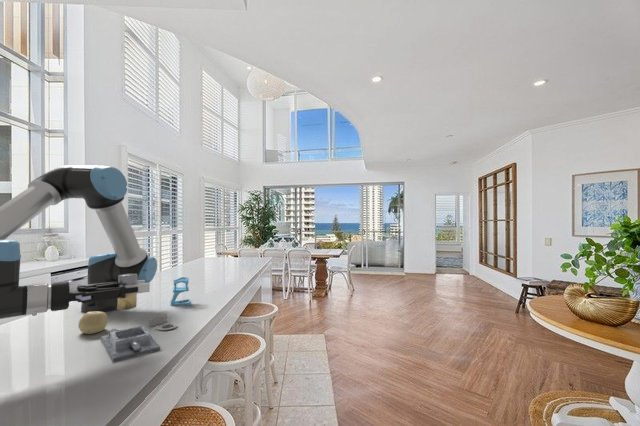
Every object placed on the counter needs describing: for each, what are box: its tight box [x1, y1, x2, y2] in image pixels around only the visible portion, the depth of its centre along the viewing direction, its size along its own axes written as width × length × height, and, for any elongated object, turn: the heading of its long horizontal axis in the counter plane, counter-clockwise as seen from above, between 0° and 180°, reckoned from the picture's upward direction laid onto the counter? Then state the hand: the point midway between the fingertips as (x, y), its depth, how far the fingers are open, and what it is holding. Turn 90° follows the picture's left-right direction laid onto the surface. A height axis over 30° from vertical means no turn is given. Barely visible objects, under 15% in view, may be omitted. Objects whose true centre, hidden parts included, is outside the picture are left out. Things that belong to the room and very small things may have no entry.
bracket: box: [148, 313, 178, 331], centre depth 109 cm, size 7×10×4 cm, turn 57°
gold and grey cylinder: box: [116, 274, 138, 311], centre depth 93 cm, size 5×5×10 cm
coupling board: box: [100, 325, 161, 363], centre depth 94 cm, size 20×12×4 cm, turn 44°
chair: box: [169, 276, 191, 306], centre depth 138 cm, size 8×8×12 cm
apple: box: [78, 311, 108, 335], centre depth 103 cm, size 8×8×8 cm
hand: (146, 285), depth 97 cm, fingers closed on gold and grey cylinder, 5 cm apart
